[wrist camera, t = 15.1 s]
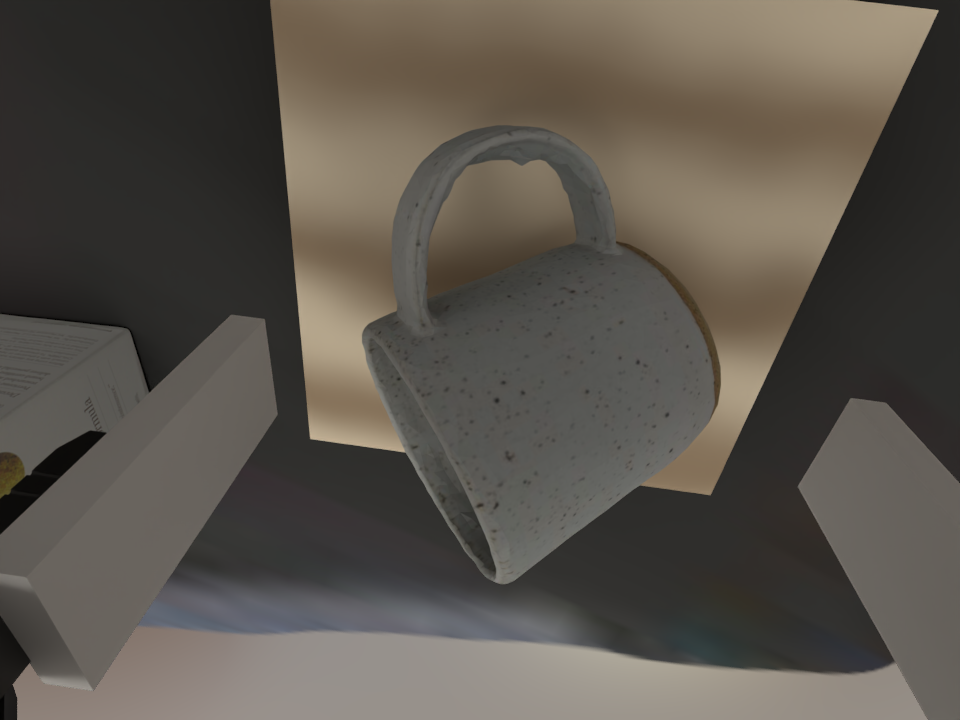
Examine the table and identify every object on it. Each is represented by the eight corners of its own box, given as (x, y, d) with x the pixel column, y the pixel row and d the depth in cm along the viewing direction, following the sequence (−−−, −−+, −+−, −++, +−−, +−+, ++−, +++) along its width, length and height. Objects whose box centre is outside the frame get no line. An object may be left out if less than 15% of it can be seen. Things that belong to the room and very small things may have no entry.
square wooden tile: (305, -54, 17) (264, -69, 14) (877, 13, 16) (938, 10, 14) (332, 399, 26) (310, 438, 24) (693, 449, 26) (710, 495, 24)
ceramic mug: (572, 334, 22) (710, 485, 17) (389, 426, 20) (494, 623, 15) (603, 60, 13) (883, 222, 9) (289, 169, 11) (460, 447, 7)
